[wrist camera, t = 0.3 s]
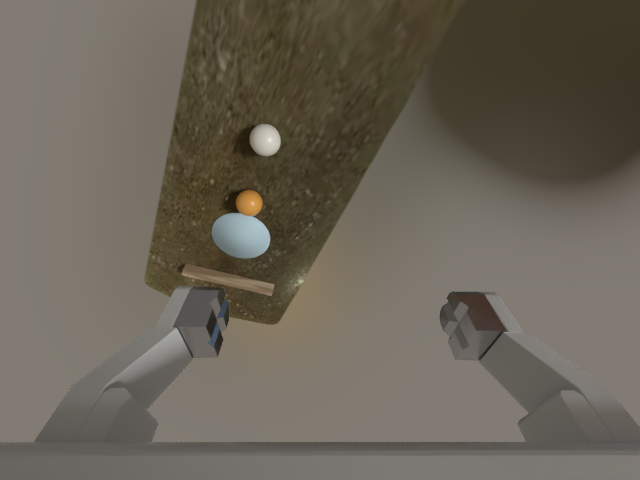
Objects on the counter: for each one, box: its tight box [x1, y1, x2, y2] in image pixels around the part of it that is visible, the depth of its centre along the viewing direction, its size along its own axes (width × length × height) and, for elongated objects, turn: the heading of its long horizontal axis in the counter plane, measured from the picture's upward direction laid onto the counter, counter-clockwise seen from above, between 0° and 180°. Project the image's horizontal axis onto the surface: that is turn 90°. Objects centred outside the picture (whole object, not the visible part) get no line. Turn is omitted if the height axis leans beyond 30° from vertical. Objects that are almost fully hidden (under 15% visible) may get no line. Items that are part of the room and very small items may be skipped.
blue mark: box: [212, 213, 270, 258], centre depth 66 cm, size 14×14×1 cm
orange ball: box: [236, 190, 263, 216], centre depth 57 cm, size 6×6×6 cm
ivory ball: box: [250, 124, 281, 156], centre depth 49 cm, size 6×6×6 cm
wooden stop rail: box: [182, 263, 274, 296], centre depth 74 cm, size 2×24×2 cm, turn 69°
